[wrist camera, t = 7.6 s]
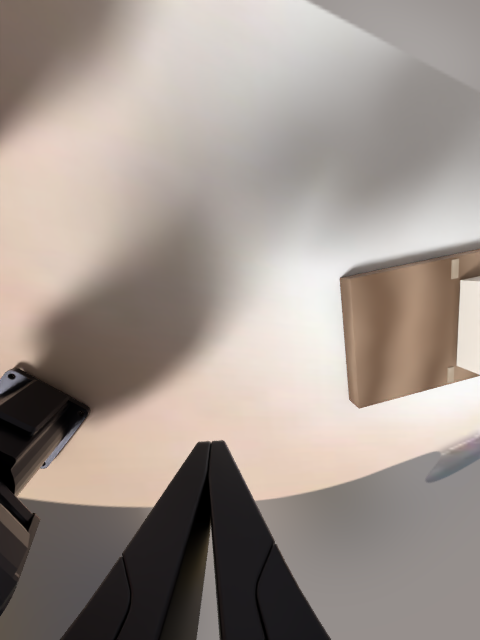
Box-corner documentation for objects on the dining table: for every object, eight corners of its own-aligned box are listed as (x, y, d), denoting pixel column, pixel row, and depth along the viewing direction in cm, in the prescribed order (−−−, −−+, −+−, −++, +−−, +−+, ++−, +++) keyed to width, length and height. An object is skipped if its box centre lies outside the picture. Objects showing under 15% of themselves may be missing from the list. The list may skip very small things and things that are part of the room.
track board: (349, 399, 23) (359, 409, 22) (339, 278, 21) (350, 279, 19) (490, 362, 25) (508, 368, 24) (500, 244, 22) (522, 243, 21)
